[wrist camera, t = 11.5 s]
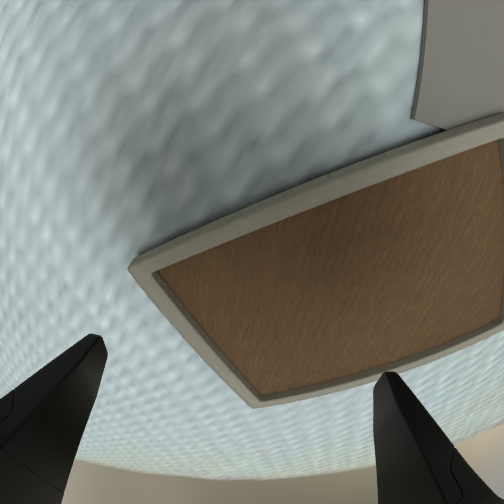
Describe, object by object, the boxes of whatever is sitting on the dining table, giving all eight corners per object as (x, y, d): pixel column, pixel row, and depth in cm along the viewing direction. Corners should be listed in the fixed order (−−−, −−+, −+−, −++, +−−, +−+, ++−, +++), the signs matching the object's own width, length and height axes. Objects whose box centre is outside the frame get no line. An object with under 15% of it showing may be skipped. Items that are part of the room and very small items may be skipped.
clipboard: (124, 269, 20) (541, 108, 11) (133, 256, 21) (527, 103, 12) (251, 409, 29) (533, 313, 19) (252, 397, 30) (526, 303, 21)
